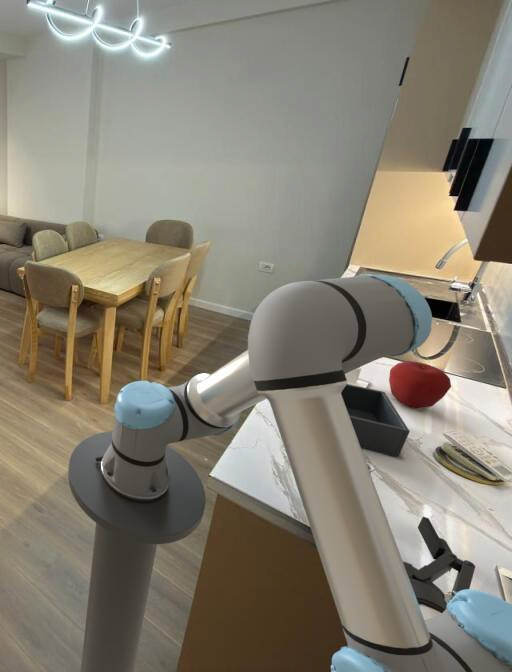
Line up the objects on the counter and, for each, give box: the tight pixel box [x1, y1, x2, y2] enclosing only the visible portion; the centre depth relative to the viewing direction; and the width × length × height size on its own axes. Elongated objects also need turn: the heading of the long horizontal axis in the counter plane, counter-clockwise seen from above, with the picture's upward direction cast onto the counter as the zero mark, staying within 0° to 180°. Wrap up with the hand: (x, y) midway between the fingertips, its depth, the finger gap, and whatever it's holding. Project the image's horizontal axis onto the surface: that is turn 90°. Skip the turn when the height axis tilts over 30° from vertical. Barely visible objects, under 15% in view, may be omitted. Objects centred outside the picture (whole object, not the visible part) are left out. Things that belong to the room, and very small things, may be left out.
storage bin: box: [341, 384, 410, 458], centre depth 105 cm, size 18×18×8 cm
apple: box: [388, 360, 452, 410], centre depth 112 cm, size 12×12×13 cm
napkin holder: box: [345, 367, 369, 388], centre depth 125 cm, size 15×11×6 cm
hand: (373, 507), depth 74 cm, fingers open, 13 cm apart
